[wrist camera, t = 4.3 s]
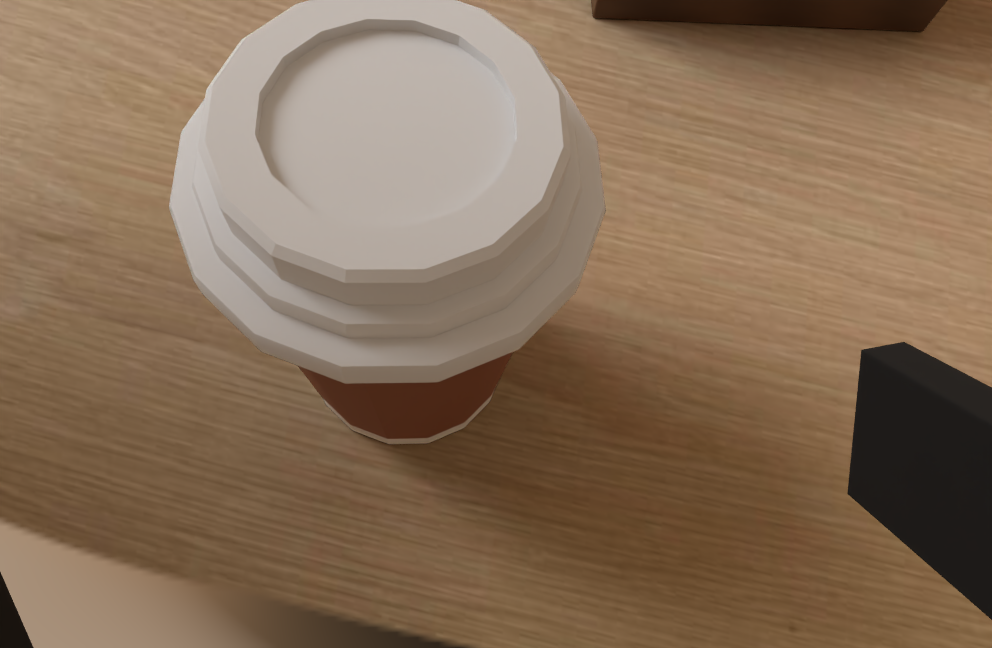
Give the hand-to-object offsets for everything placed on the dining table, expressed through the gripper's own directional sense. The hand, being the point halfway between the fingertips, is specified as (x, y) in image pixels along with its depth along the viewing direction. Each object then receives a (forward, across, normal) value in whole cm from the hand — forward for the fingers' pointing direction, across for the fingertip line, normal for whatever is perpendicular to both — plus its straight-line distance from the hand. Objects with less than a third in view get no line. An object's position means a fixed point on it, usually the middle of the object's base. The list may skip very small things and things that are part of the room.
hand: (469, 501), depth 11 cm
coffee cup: (+14, 0, -3) cm, 14 cm away
